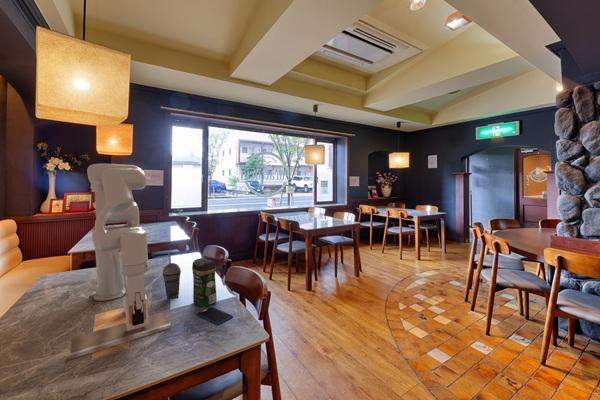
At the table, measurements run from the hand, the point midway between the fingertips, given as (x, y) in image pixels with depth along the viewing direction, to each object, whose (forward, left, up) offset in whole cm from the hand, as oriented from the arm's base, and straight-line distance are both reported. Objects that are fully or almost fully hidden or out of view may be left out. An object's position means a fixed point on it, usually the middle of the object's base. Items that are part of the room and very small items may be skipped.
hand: (137, 320), depth 87 cm
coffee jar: (+12, +24, -4) cm, 27 cm away
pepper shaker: (-12, +12, -4) cm, 18 cm away
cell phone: (+21, +14, -5) cm, 25 cm away
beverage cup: (-4, +26, -4) cm, 27 cm away
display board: (-3, -2, -4) cm, 6 cm away
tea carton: (0, 0, -1) cm, 1 cm away
